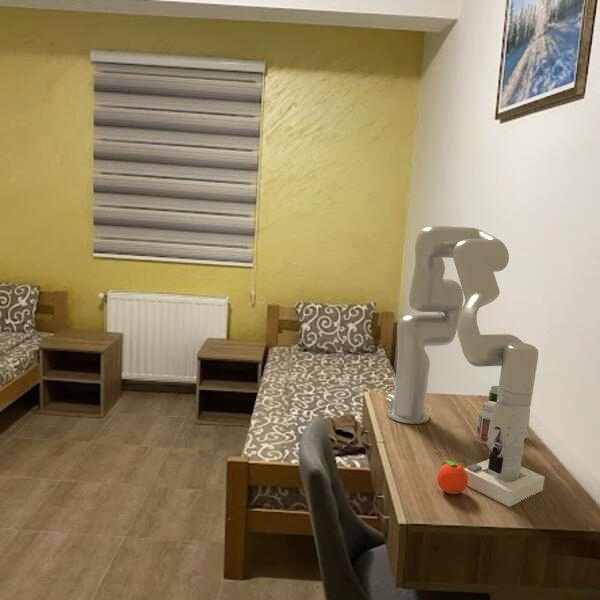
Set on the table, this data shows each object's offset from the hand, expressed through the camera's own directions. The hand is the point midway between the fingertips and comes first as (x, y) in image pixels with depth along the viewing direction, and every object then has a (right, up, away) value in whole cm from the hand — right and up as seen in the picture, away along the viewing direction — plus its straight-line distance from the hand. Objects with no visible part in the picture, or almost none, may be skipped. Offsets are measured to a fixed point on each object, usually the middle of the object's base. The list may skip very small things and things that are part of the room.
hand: (504, 466), depth 149 cm
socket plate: (0, -5, +1) cm, 5 cm away
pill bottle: (+4, 0, +27) cm, 27 cm away
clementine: (-14, -5, -3) cm, 15 cm away
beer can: (+9, +1, +38) cm, 39 cm away
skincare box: (0, -3, +1) cm, 3 cm away
